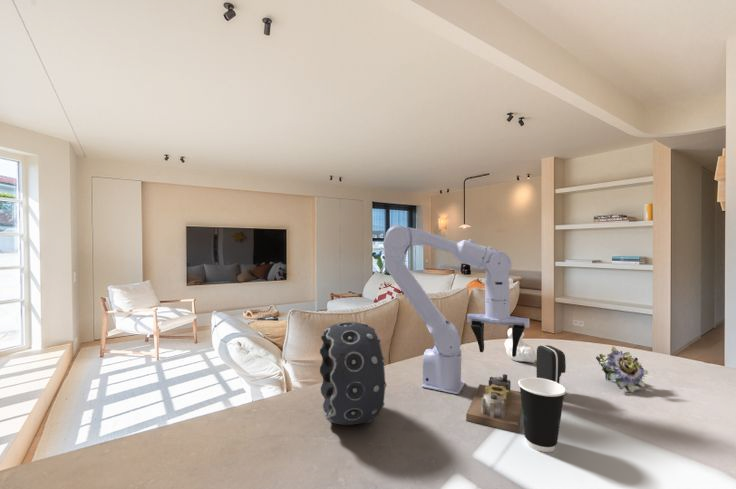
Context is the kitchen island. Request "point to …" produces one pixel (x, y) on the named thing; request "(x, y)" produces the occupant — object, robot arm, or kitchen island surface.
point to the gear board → (497, 420)
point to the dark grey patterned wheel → (352, 373)
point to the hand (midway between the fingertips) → (497, 353)
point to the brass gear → (501, 391)
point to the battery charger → (550, 363)
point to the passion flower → (623, 369)
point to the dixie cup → (541, 411)
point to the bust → (519, 349)
